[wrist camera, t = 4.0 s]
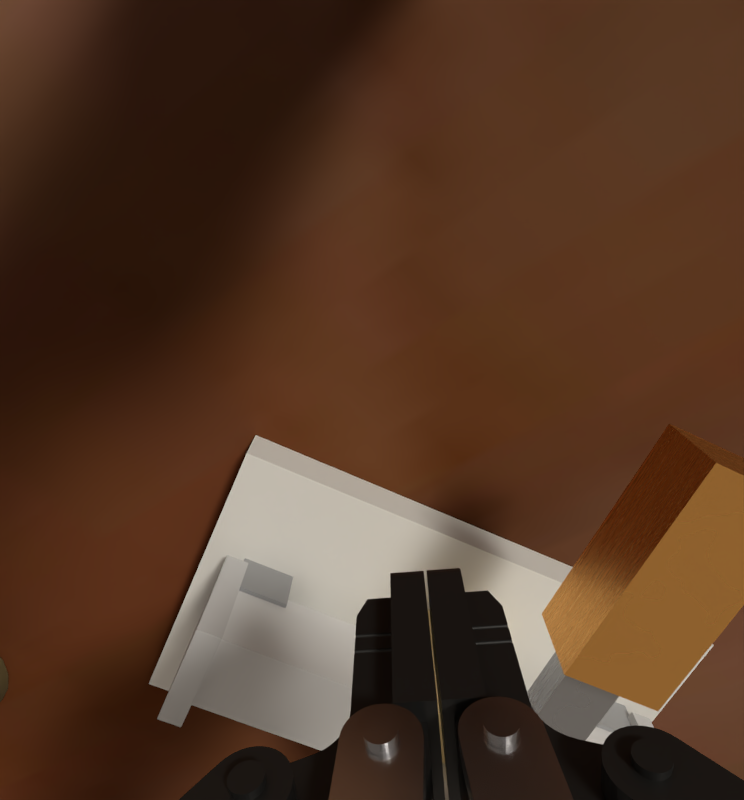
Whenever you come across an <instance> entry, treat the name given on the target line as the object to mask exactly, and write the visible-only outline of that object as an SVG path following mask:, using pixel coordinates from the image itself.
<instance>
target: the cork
mask: <svg viewBox="0 0 744 800" xmlns="http://www.w3.org/2000/svg"><path fill="white" fill-rule="evenodd" d="M7 689H8V672H7V670H6V667H5V664H4V662H3V660H2V659H1V657H0V702H1V700H2V699H3V698H4V695H5V693H6V691H7Z"/></svg>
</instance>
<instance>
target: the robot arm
mask: <svg viewBox="0 0 744 800" xmlns="http://www.w3.org/2000/svg"><path fill="white" fill-rule="evenodd" d="M427 584H428V597H429V609H430V621H431V633H432V645H433V655H434V665H435V674H436V683H437V693H438V702H439V711H440V721H441V730H442V739H443V749H444V758H445V767H446V776H447V786H448V795H449V800H744V781H743V780H742V779H740V778H739V777H737V776H736V775H734V774H732V773H731V772H729V771H728V770H726V769H725V768H723V767H721V766H720V765H718V764H717V763H715V762H714V761H712V760H711V759H709V758H707V757H706V756H704V755H703V754H701V753H700V752H698V751H696V750H695V749H693V748H692V747H690V746H689V745H687V744H685V743H684V742H682V741H681V740H679V739H678V738H676V737H674V736H672V735H671V734H669V733H667V732H664V731H662V730H660V729H656V728H653V727H648V726H638V725H634V726H626V727H623V728H620V729H617V730H615V731H614V732H612V733H611V734H610V735H609V736H608V737H607V738H606V740H605V742H604V744H598V743H594V742H589V741H585V740H580V739H576V738H572V737H569V736H567V735H564V734H562V733H560V732H558V731H556V730H554V729H553V728H551V727H550V726H548V725H547V724H546V723H545V722H544V721H542V720H541V718H540V717H539V716H538V714H537V713H536V712H535V711H534V709H533V708H532V706H531V703H530V700H529V697H528V693H527V690H526V686H525V683H524V679H523V676H522V673H521V669H520V666H519V662H518V659H517V655H516V652H515V648H514V645H513V643H512V638H511V634H510V631H509V628H508V624H507V620H506V617H505V613H504V610H503V606H502V605H501V604H500V603H499V602H498V601H497V600H496V599H495V598H494V596H493V595H492V594H491V593H490V592H489V591H488V590H487V591H473V592H465V589H464V584H463V579H462V574H461V570H460V568H452V569H438V570H427ZM390 588H391V598H377V599H367V601H366V602H365V604H364V605H363V607H362V608H361V610H360V612H359V613H358V615H357V618H356V633H355V636H356V638H355V649H354V651H355V654H354V664H353V680H352V695H351V711H350V718H349V719H348V720H347V721H346V723H345V724H344V726H343V728H342V730H341V732H340V736H339V738H338V739H337V740H336V741H335V742H334V743H332V744H331V745H330V746H328V747H327V748H325V749H324V750H322V751H320V752H318V753H316V754H313V755H311V756H308V757H305V758H303V759H300V760H297V761H294V762H292V763H290V762H289V761H288V759H287V758H286V757H285V756H284V755H283V754H282V753H281V752H279V751H277V750H276V749H273V748H270V747H263V746H256V747H249V748H245V749H242V750H239V751H237V752H235V753H233V754H231V755H230V756H228V757H226V758H225V759H224V760H223V761H221V762H220V763H219V764H218V765H217V766H216V767H215V768H213V769H212V770H211V771H210V772H209V773H208V774H207V775H206V776H205V777H204V778H202V779H201V780H200V781H199V782H198V783H197V784H196V785H195V786H194V787H192V788H191V789H190V790H189V791H188V792H187V793H186V794H185V795H184V796H183V797H181V798H180V799H179V800H445V790H444V778H443V766H442V753H441V741H440V729H439V716H438V704H437V694H436V684H435V675H434V665H433V656H432V646H431V637H430V627H429V617H428V608H427V598H426V589H425V579H424V571H413V572H399V573H390Z"/></svg>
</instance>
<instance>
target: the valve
mask: <svg viewBox="0 0 744 800" xmlns="http://www.w3.org/2000/svg"><path fill="white" fill-rule="evenodd" d="M452 568H460V570H461V574H462V579H463V584H464V589H465V592H473V591H487V590H488V591H489V592H490V593H491V594H492V595H493V596H494V598H495V599H496V600H497V601H498V602H499V603H500V604H501V605H502V606H503V610H504V613H505V617H506V620H507V624H508V628H509V631H510V634H511V638H512V643H513V645H514V648H515V652H516V655H517V659H518V662H519V666H520V669H521V673H522V676H523V679H524V683H525V686H526V690H527V691H528V690H529V689H530V687H531V686H532V684H533V683H534V681H535V680H536V679H537V677H538V676H539V674H540V673H541V671H542V670H543V669H544V667H545V666H546V664H547V663H548V661H549V660H550V659H551V657H552V656H553V654H554V653H555V648H554V646H553V643H552V640H551V638H550V635H549V632H548V630H547V627H546V624H545V622H544V619H543V616H542V612H543V611H544V609H545V608H546V606H547V605H548V604H549V602H550V601H551V599H552V598H553V596H554V595H555V593H556V592H557V590H558V589H559V587H560V586H561V584H562V583H563V581H564V580H565V578H566V577H567V575H568V574H569V572H570V571H571V569H572V568H573V567H571V566H569V565H566V564H564V563H562V562H559V561H557V560H554V559H552V558H550V557H547V556H545V555H542V554H540V553H538V552H535V551H533V550H530V549H528V548H526V547H523V546H521V545H518V544H516V543H514V542H511V541H509V540H506V539H504V538H502V537H499V536H497V535H494V534H492V533H490V532H487V531H485V530H482V529H480V528H478V527H475V526H473V525H470V524H468V523H466V522H463V521H461V520H458V519H456V518H454V517H451V516H449V515H446V514H444V513H442V512H439V511H437V510H434V509H432V508H430V507H427V506H425V505H422V504H420V503H418V502H415V501H413V500H410V499H408V498H406V497H403V496H401V495H398V494H396V493H394V492H391V491H389V490H386V489H384V488H382V487H379V486H377V485H374V484H372V483H370V482H367V481H365V480H362V479H360V478H358V477H355V476H353V475H350V474H348V473H346V472H343V471H341V470H338V469H336V468H334V467H331V466H329V465H326V464H324V463H322V462H319V461H317V460H314V459H312V458H310V457H307V456H305V455H302V454H300V453H298V452H295V451H293V450H290V449H288V448H286V447H283V446H281V445H278V444H276V443H274V442H271V441H269V440H266V439H264V438H262V437H259V436H257V435H255V437H254V439H253V441H252V443H251V445H250V447H249V449H248V451H247V453H246V456H245V458H244V460H243V463H242V465H241V468H240V470H239V472H238V475H237V477H236V479H235V482H234V484H233V486H232V489H231V491H230V493H229V496H228V498H227V500H226V503H225V505H224V508H223V510H222V512H221V515H220V517H219V519H218V522H217V524H216V526H215V529H214V531H213V533H212V536H211V538H210V540H209V543H208V545H207V548H206V550H205V552H204V555H203V557H202V559H201V562H200V564H199V566H198V569H197V571H196V573H195V576H194V578H193V580H192V583H191V585H190V588H189V590H188V592H187V595H186V597H185V599H184V602H183V604H182V606H181V609H180V611H179V613H178V616H177V618H176V620H175V623H174V625H173V628H172V630H171V632H170V635H169V637H168V639H167V642H166V644H165V646H164V649H163V651H162V653H161V656H160V658H159V660H158V663H157V665H156V668H155V670H154V672H153V675H152V677H151V679H150V682H149V684H150V685H153V686H156V687H159V688H162V689H164V690H167V691H169V692H168V694H167V696H166V699H165V701H164V703H163V706H162V708H161V711H160V713H159V715H158V718H157V719H158V720H161V721H164V722H167V723H170V724H173V725H175V726H178V727H181V726H182V724H183V722H184V720H185V718H186V716H187V713H188V711H189V709H190V707H191V705H193V706H196V707H198V708H201V709H204V710H207V711H210V712H213V713H215V714H218V715H221V716H224V717H227V718H230V719H232V720H235V721H238V722H241V723H244V724H247V725H250V726H252V727H255V728H258V729H261V730H264V731H267V732H269V733H272V734H275V735H278V736H281V737H284V738H286V739H289V740H292V741H295V742H298V743H301V744H303V745H306V746H309V747H312V748H315V749H318V750H321V751H322V750H324V749H325V748H327V747H328V746H330V745H331V744H332V743H334V742H335V741H336V740H337V739H338V738H339V736H340V732H341V730H342V728H343V726H344V724H345V723H346V721H347V720H348V719H349V718H350V711H351V695H352V680H353V664H354V654H355V651H354V649H355V638H356V636H355V633H356V618H357V615H358V613H359V612H360V610H361V608H362V607H363V605H364V604H365V602H366V601H367V599H377V598H391V588H390V573H399V572H413V571H424V579H425V589H426V598H427V608H428V617H429V627H430V637H431V646H432V656H433V665H434V655H433V645H432V633H431V621H430V609H429V597H428V584H427V570H438V569H452ZM712 647H713V644H712V645H711V646H710V647H709V649H708V650H707V651H706V652H705V654H704V655H703V656H702V657H701V659H700V660H699V661H698V662H697V664H696V665H695V666H694V667H693V669H692V670H691V671H690V672H689V674H688V675H687V676H686V677H685V679H684V680H683V681H682V682H681V684H680V685H679V686H678V687H677V689H676V690H675V691H674V692H673V694H672V695H671V696H670V697H669V698H668V700H667V701H666V702H665V703H664V705H663V706H662V707H661V708H660V710H659V711H656V710H653V709H651V708H648V707H645V706H643V705H640V704H638V703H635V702H633V701H630V700H628V699H625V698H622V697H620V696H619V697H618V699H617V700H616V701H615V703H614V704H613V705H612V707H611V708H610V709H609V710H608V712H607V713H606V714H605V716H604V717H603V718H602V720H601V721H600V722H599V724H598V725H597V726H596V727H595V729H594V730H593V731H592V733H591V734H590V735H589V737H588V738H587V739H586V740H585V741H589V742H594V743H598V744H604V742H605V740H606V738H607V737H608V736H609V735H610V734H611V733H612V732H614V731H615V730H617V729H620V728H623V727H626V726H634V725H638V726H648V727H653V725H652V723H651V722H652V721H653V720H654V719H655V717H656V716H657V715H658V714H659V713H660V711H661V710H662V709H663V708H664V706H665V705H666V704H667V703H668V701H669V700H670V699H671V698H672V696H673V695H674V694H675V693H676V691H677V690H678V689H679V688H680V686H681V685H682V684H683V683H684V681H685V680H686V679H687V678H688V677H689V675H690V674H691V673H692V672H693V670H694V669H695V668H696V667H697V665H698V664H699V663H700V662H701V660H702V659H703V658H704V657H705V655H706V654H707V653H708V652H709V650H710V649H711V648H712ZM434 675H435V684H436V694H437V704H438V716H439V729H440V741H441V753H442V766H443V778H444V790H445V800H449V795H448V786H447V776H446V767H445V758H444V749H443V739H442V730H441V721H440V711H439V702H438V693H437V683H436V674H435V665H434ZM653 728H654V727H653Z"/></svg>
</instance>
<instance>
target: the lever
mask: <svg viewBox="0 0 744 800" xmlns="http://www.w3.org/2000/svg"><path fill="white" fill-rule="evenodd" d="M743 605H744V458H743V457H740V456H738V455H736V454H734V453H732V452H730V451H727V450H725V449H723V448H721V447H719V446H717V445H714V444H712V443H710V442H708V441H706V440H704V439H701V438H699V437H697V436H695V435H693V434H691V433H688V432H686V431H684V430H682V429H680V428H678V427H675V426H673V425H671V424H669V425H668V426H667V428H666V429H665V431H664V432H663V434H662V435H661V437H660V438H659V440H658V441H657V443H656V444H655V446H654V447H653V449H652V450H651V452H650V453H649V455H648V456H647V458H646V459H645V461H644V462H643V464H642V465H641V467H640V468H639V469H638V471H637V472H636V474H635V475H634V477H633V478H632V480H631V481H630V483H629V484H628V486H627V487H626V489H625V490H624V492H623V493H622V495H621V496H620V498H619V499H618V501H617V502H616V504H615V505H614V507H613V508H612V510H611V511H610V513H609V514H608V516H607V517H606V519H605V520H604V522H603V523H602V525H601V526H600V528H599V529H598V531H597V532H596V534H595V535H594V536H593V538H592V539H591V541H590V542H589V544H588V545H587V547H586V548H585V550H584V551H583V553H582V554H581V556H580V557H579V559H578V560H577V562H576V563H575V565H574V566H573V568H572V569H571V571H570V572H569V574H568V575H567V577H566V578H565V580H564V581H563V583H562V584H561V586H560V587H559V589H558V590H557V592H556V593H555V595H554V596H553V598H552V599H551V601H550V602H549V604H548V605H547V606H546V608H545V609H544V611H543V612H542V616H543V619H544V622H545V624H546V627H547V630H548V632H549V635H550V638H551V640H552V643H553V646H554V648H555V653H554V654H553V656H552V657H551V659H550V660H549V661H548V663H547V664H546V666H545V667H544V669H543V670H542V671H541V673H540V674H539V676H538V677H537V679H536V680H535V681H534V683H533V684H532V686H531V687H530V689H529V690H528V691H527V693H528V697H529V700H530V703H531V706H532V708H533V709H534V711H535V712H536V713H537V714H538V716H539V717H540V718H541V720H542V721H544V722H545V723H546V724H547V725H548V726H550V727H551V728H553V729H554V730H556V731H558V732H560V733H562V734H564V735H567V736H569V737H572V738H576V739H580V740H586V739H587V738H588V737H589V735H590V734H591V733H592V731H593V730H594V729H595V727H596V726H597V725H598V724H599V722H600V721H601V720H602V718H603V717H604V716H605V714H606V713H607V712H608V710H609V709H610V708H611V707H612V705H613V704H614V703H615V701H616V700H617V699H618V697H619V696H620V697H622V698H625V699H628V700H630V701H633V702H635V703H638V704H640V705H643V706H645V707H648V708H651V709H653V710H656V711H659V710H660V708H661V707H662V706H663V705H664V703H665V702H666V701H667V700H668V698H669V697H670V696H671V695H672V694H673V692H674V691H675V690H676V689H677V687H678V686H679V685H680V684H681V682H682V681H683V680H684V679H685V677H686V676H687V675H688V674H689V672H690V671H691V670H692V669H693V667H694V666H695V665H696V664H697V662H698V661H699V660H700V659H701V657H702V656H703V655H704V654H705V652H706V651H707V650H708V649H709V647H710V646H711V645H712V644H713V643H714V641H715V640H716V639H717V638H718V636H719V635H720V634H721V633H722V631H723V630H724V629H725V628H726V626H727V625H728V624H729V623H730V621H731V620H732V619H733V618H734V616H735V615H736V614H737V613H738V611H739V610H740V609H741V608H742V606H743Z"/></svg>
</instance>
